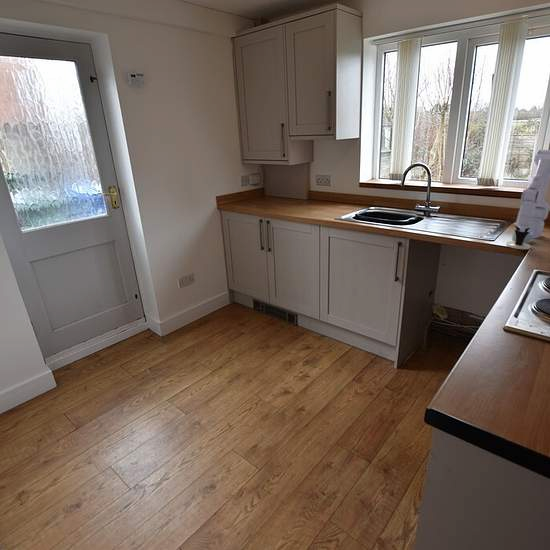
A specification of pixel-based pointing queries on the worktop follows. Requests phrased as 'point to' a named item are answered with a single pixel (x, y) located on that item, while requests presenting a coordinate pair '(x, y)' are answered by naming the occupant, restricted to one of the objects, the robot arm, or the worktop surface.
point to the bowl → (527, 238)
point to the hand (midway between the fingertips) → (518, 243)
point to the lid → (513, 245)
